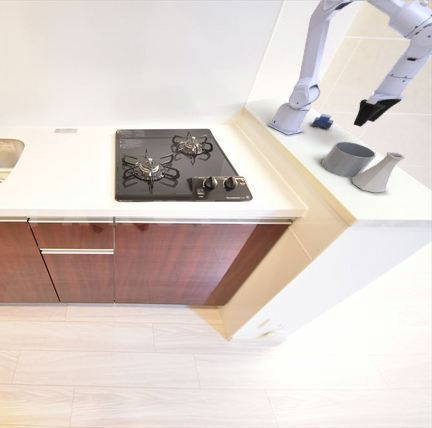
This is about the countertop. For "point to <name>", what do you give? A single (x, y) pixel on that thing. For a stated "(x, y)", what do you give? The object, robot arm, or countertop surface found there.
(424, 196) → the countertop surface
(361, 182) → the flask
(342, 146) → the steel cup
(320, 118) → the toy car
